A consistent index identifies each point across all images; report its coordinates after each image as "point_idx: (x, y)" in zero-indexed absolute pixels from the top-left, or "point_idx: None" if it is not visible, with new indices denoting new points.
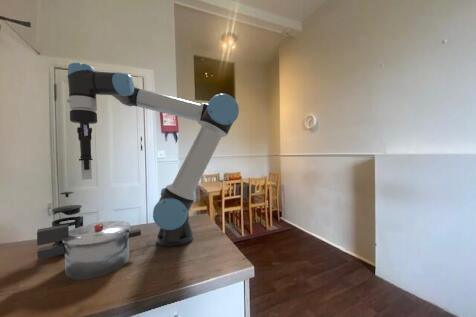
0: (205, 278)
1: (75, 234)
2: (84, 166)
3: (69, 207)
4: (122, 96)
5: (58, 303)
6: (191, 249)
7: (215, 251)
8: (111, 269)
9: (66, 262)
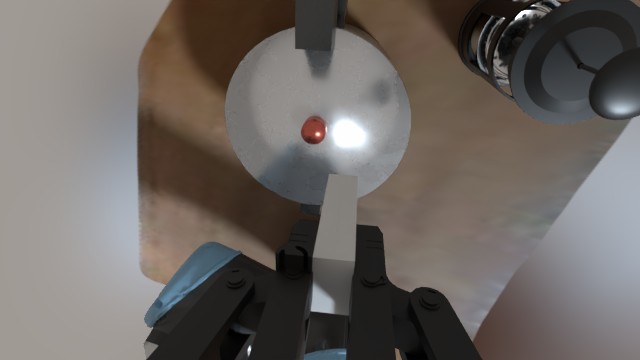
0: (142, 217)
1: (319, 63)
2: (290, 236)
3: (551, 74)
4: None
5: (199, 3)
6: (256, 254)
7: None
8: None
9: None
